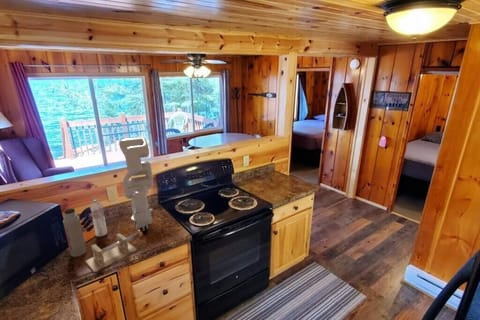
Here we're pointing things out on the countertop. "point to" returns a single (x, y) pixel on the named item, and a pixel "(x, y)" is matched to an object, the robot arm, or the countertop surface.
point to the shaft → (138, 234)
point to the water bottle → (98, 219)
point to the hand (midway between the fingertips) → (145, 234)
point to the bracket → (109, 254)
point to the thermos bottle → (74, 233)
